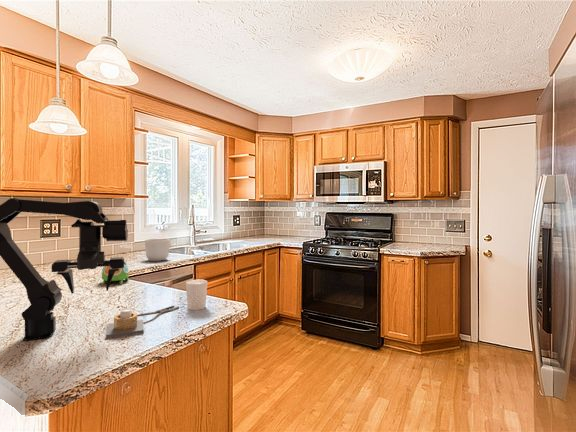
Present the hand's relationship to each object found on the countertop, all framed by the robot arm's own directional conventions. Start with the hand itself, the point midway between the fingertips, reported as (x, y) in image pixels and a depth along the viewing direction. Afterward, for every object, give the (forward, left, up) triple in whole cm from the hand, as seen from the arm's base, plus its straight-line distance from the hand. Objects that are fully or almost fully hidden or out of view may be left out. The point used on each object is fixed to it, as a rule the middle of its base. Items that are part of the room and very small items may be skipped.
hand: (90, 291), depth 99 cm
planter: (+26, +135, -12) cm, 138 cm away
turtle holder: (+3, +72, -12) cm, 73 cm away
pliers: (+18, +9, -13) cm, 24 cm away
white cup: (+34, +11, -12) cm, 38 cm away
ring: (+10, -4, -11) cm, 15 cm away
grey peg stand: (+10, -4, -12) cm, 16 cm away
